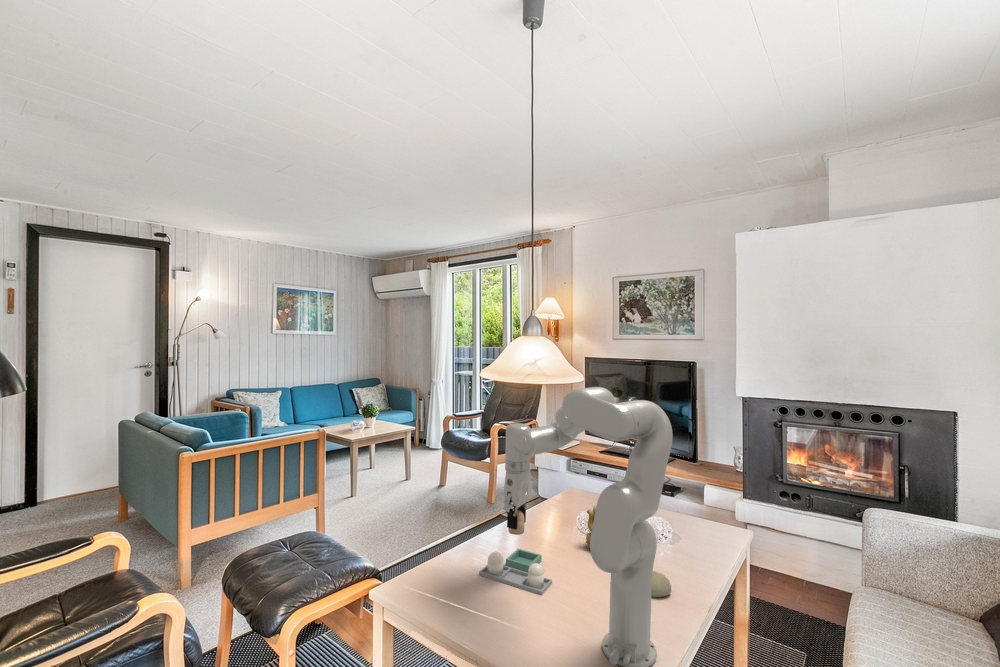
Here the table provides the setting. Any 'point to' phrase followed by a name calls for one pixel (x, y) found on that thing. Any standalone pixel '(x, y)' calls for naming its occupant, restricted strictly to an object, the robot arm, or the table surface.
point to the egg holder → (522, 559)
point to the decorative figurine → (590, 523)
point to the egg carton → (515, 579)
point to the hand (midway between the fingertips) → (516, 524)
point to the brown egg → (518, 524)
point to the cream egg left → (495, 564)
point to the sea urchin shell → (660, 585)
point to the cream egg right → (536, 576)
